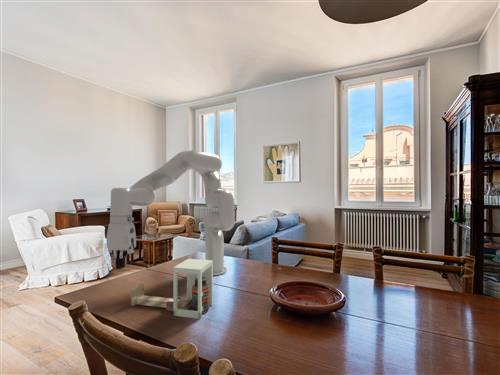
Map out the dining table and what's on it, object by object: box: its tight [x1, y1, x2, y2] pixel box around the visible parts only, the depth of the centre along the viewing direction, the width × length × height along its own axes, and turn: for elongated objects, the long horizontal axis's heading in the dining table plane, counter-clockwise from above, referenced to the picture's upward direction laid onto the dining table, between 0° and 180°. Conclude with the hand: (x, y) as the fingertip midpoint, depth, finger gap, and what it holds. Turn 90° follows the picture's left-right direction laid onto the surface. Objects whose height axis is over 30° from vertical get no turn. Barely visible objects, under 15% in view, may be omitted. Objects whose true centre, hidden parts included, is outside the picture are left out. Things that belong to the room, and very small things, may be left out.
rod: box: [130, 283, 192, 310], centre depth 97 cm, size 22×7×6 cm, turn 77°
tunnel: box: [172, 258, 214, 320], centre depth 94 cm, size 11×10×16 cm
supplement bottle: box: [191, 277, 210, 315], centre depth 94 cm, size 6×6×11 cm
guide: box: [165, 295, 182, 312], centre depth 96 cm, size 5×3×3 cm, turn 167°
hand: (120, 267), depth 101 cm, fingers closed
